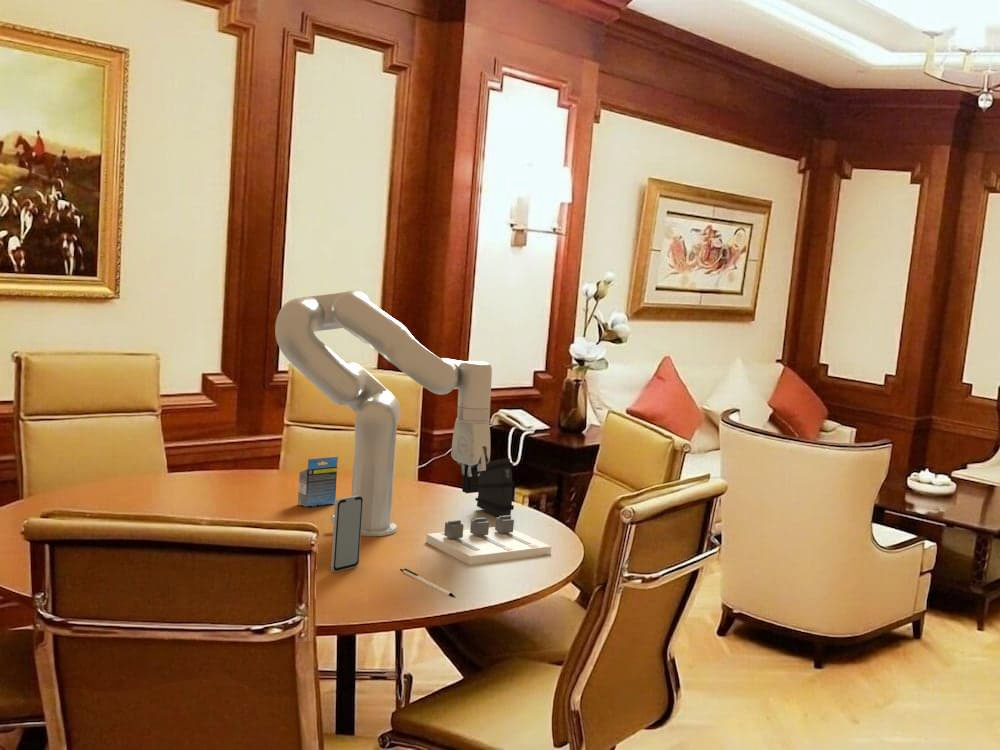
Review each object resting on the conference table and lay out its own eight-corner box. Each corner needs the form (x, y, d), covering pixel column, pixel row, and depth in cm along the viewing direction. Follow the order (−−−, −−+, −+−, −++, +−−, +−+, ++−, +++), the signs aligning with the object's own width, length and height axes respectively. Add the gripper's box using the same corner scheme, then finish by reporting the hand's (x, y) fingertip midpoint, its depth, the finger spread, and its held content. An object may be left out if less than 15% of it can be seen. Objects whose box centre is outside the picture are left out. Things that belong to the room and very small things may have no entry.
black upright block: (508, 518, 254) (500, 458, 257) (477, 523, 264) (470, 466, 267) (520, 517, 257) (512, 458, 259) (489, 522, 267) (481, 465, 269)
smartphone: (332, 572, 205) (337, 500, 203) (329, 571, 205) (333, 499, 204) (358, 566, 211) (363, 495, 209) (355, 564, 211) (360, 494, 210)
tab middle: (477, 536, 232) (478, 520, 231) (470, 532, 234) (471, 517, 234) (488, 534, 234) (489, 519, 233) (480, 531, 236) (482, 516, 236)
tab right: (502, 533, 236) (503, 518, 235) (495, 529, 238) (496, 514, 238) (512, 532, 238) (514, 517, 237) (505, 528, 240) (506, 513, 240)
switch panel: (469, 565, 217) (470, 555, 217) (426, 542, 232) (426, 533, 232) (550, 554, 230) (551, 545, 230) (504, 533, 245) (505, 525, 244)
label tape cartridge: (327, 500, 263) (330, 453, 261) (335, 504, 260) (338, 456, 258) (297, 504, 257) (300, 456, 255) (305, 507, 254) (308, 459, 253)
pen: (402, 571, 211) (402, 566, 210) (457, 599, 196) (457, 594, 196) (398, 571, 210) (399, 566, 210) (453, 600, 195) (454, 594, 195)
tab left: (451, 538, 228) (452, 523, 227) (444, 535, 230) (445, 519, 230) (462, 537, 230) (463, 522, 229) (455, 534, 232) (456, 518, 232)
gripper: (442, 410, 240) (439, 486, 242) (478, 420, 228) (474, 500, 230) (469, 409, 244) (465, 484, 246) (505, 418, 232) (501, 497, 234)
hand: (469, 491), depth 238 cm, fingers closed
